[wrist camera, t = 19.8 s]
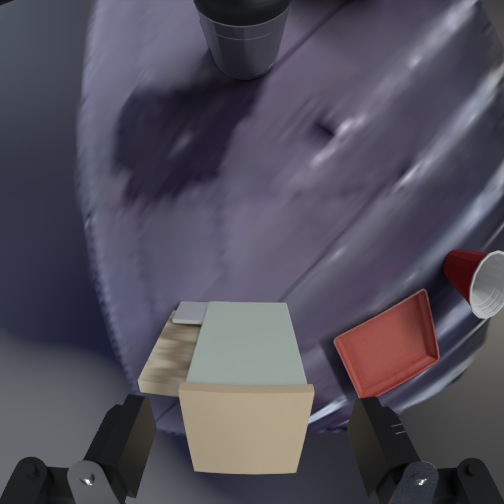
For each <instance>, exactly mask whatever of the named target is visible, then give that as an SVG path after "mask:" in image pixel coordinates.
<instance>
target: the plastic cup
mask: <svg viewBox="0 0 504 504" xmlns="http://www.w3.org/2000/svg"><path fill="white" fill-rule="evenodd" d="M443 272H444V275H445V276H446V278H447V279H448V280H449V281H450V282H451V283H452V285H453V286H454V287H455V288H456V289H457V290H458V291H459V293H460V294H461V295H462V296H463V297H464V298H465V299H466V301H467V302H468V303H469V305H470V306H471V310H472V311H473V313H474V314H475V315H476V316H477V317H478V318H484V319H487V318H489V317H491V316H493V315H495V314H496V313H497V312H498V311H499V310H500V309H501V308H502V307H503V305H504V252H501V251H495V252H492V253H481V252H475V251H465V250H460V249H458V250H457V249H456V250H453V251H451V252H450V253H449V254H448V255H447V257H446V258H445V261H444V264H443Z"/></svg>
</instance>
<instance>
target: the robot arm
mask: <svg viewBox="0 0 504 504" xmlns="http://www.w3.org/2000/svg"><path fill="white" fill-rule="evenodd" d="M10 1H13V0H0V5H3V4H5V3H8V2H10ZM194 3H195V6H196V9H197V11H198V14H199V17H200V24H201V27H202V29H203V32H204V35H205V38H206V41H207V44H208V46H209V49H211V52H212V55H213V58H214V61H215V63H216V65H217V67H218V68H219V70H220V71H222V72H223V73H224V74H226V75H227V76H229V77H232V78H235V79H240V80H251V79H255V78H258V77H261V76H263V75H264V74H266V73H267V72H269V71H270V70H271V69H272V67H273V66H274V64H275V62H276V59H277V55H278V51H279V47H280V43H281V39H282V35H283V31H284V27H285V23H286V19H287V15H288V11H289V7H290V3H291V0H194ZM155 431H156V424H155V419H154V416H153V412H152V408H151V405H150V401H149V398H148V397H145V396H138V395H132V394H129V395H128V396H127V398H126V400H125V402H124V404H123V406H122V405H115V406H114V407H113V408H111V409H110V410H109V411H108V412H107V413H106V415H105V417H104V419H103V421H102V423H101V425H100V427H99V431H97V433H96V435H95V437H94V439H93V441H92V443H91V445H90V447H89V449H88V451H87V453H86V455H85V457H84V459H83V460H82V461H79V462H76V463H74V464H73V465H72V466H71V467H70V468H58V467H47V466H46V465H45V464H44V462H43V461H41V460H40V459H38V458H36V457H26V458H24V459H22V460H20V461H19V462H18V464H17V466H16V468H15V469H14V472H13V473H12V475H11V477H10V479H9V481H8V483H7V485H6V487H5V489H4V491H3V494H2V496H1V498H0V504H126V503H125V499H126V496H129V497H133V498H136V496H137V492H138V489H139V485H140V481H141V478H142V475H143V471H144V469H145V465H146V462H147V459H148V455H149V452H150V449H151V446H152V443H153V439H154V436H155ZM348 437H349V440H350V443H351V446H352V449H353V452H354V455H355V458H356V462H357V465H358V468H359V471H360V474H361V477H362V481H363V484H364V487H365V490H366V493H367V497H368V498H371V497H375V496H378V500H379V502H380V503H379V504H504V501H503V499H502V497H501V495H500V493H499V491H498V489H497V487H496V485H495V483H494V481H493V479H492V477H491V475H490V473H489V471H488V469H487V467H486V466H485V464H484V463H483V462H482V461H481V460H479V459H476V458H467V459H465V460H463V461H462V462H461V463H460V464H459V465H458V467H457V468H444V469H436V468H435V467H434V466H433V465H432V464H430V463H428V462H423V461H421V460H420V459H419V457H418V455H417V453H416V451H415V449H414V447H413V445H412V443H411V441H410V439H409V437H408V435H407V433H405V429H404V427H403V425H401V421H400V420H399V418H398V416H397V414H396V413H395V412H394V411H393V410H391V409H390V408H389V407H388V406H387V407H382V406H381V404H380V402H379V400H378V398H377V397H376V396H372V397H365V398H358V399H356V401H355V404H354V407H353V411H352V414H351V416H350V419H349V422H348Z"/></svg>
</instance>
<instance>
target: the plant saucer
mask: <svg viewBox="0 0 504 504" xmlns="http://www.w3.org/2000/svg"><path fill="white" fill-rule="evenodd" d="M333 342H334V345H335V347H336V349H337V351H338V353H339V355H340V357H341V360H342V362H343V364H344V366H345V368H346V370H347V373H348V375H349V377H350V379H351V381H352V383H353V386H354V388H355V390H356V392H357V395H358V397H359V398H365V397H372V396H376V397H377V396H379V395H381V394H383V393H384V392H386V391H388V390H390V389H392V388H394V387H396V386H397V385H399V384H401V383H403V382H405V381H406V380H408V379H410V378H412V377H413V376H415V375H417V374H418V373H420V372H421V371H423V370H425V369H426V368H428V367H429V366H431V365H433V364H434V363H436V362H437V361H438V360H439V351H438V344H437V339H436V333H435V328H434V322H433V317H432V313H431V308H430V304H429V299H428V295H427V291H426V290H425V289H421V290H419V291H417V292H415V293H413V294H411V295H410V296H408V297H406V298H405V299H403V300H401V301H400V302H398V303H396V304H394V305H393V306H391V307H389V308H388V309H386V310H384V311H382V312H380V313H379V314H377V315H375V316H373V317H371V318H369V319H368V320H366V321H364V322H362V323H360V324H358V325H356V326H354V327H352V328H351V329H349V330H347V331H345V332H343V333H341V334H339V335H338V336H336V337H335V339H334V341H333Z"/></svg>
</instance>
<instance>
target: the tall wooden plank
mask: <svg viewBox="0 0 504 504" xmlns="http://www.w3.org/2000/svg"><path fill="white" fill-rule="evenodd" d="M175 313H176V310H173V311H172V313H171V315H170V317H169V319H168V321H167V323H166V325H165V327H164V329H163V330H162V332H161V334H160V336H159V338H158V340H157V342H156V344H155V346H154V348H153V350H152V352H151V354H150V356H149V358H148V360H147V362H146V364H145V366H144V368H143V370H142V372H141V374H140V377H139V379H138V384H139V388H140V392H144V393H151V394H159V395H167V396H175V397H179V392H178V388H179V385H180V382H186V379H187V376H188V372H189V368H190V365H191V361H192V358H193V354H194V351H195V348H196V344H197V341H198V337H199V334H200V330H201V327H202V324H185V323H173V321H172V319H173V317H174V315H175Z"/></svg>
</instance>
